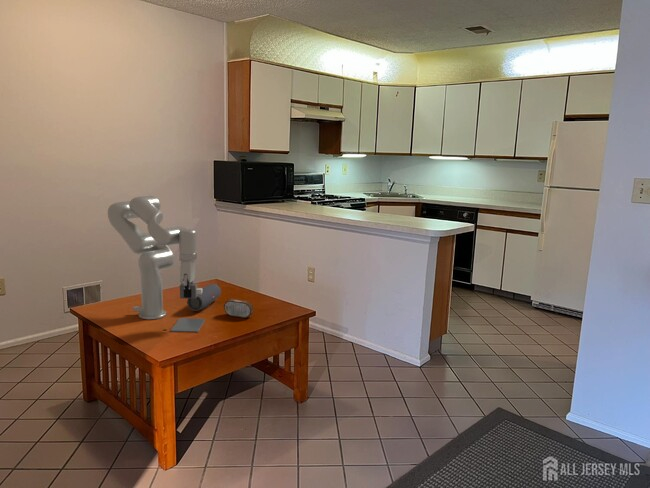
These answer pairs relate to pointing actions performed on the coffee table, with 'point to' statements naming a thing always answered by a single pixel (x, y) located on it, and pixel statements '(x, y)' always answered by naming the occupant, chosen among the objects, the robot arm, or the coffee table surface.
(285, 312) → the coffee table surface
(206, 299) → the bluetooth speaker
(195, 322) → the slate board
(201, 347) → the coffee table surface
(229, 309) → the tin
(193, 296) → the block
